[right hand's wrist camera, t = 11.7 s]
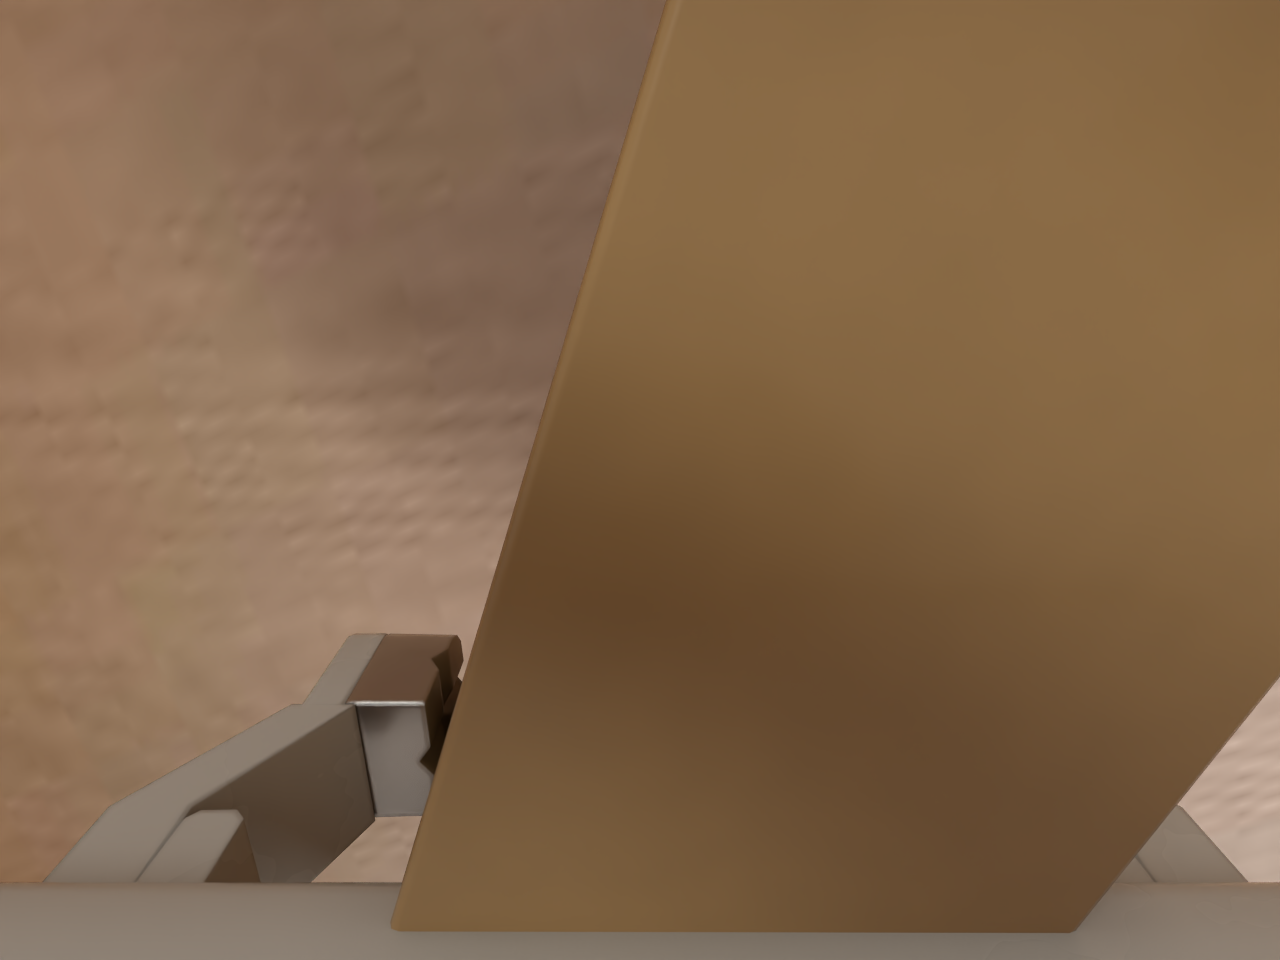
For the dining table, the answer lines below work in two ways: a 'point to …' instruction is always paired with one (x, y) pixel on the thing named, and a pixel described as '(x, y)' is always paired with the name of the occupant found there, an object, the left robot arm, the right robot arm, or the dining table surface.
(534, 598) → the bar
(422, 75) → the dining table surface
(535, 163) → the dining table surface
